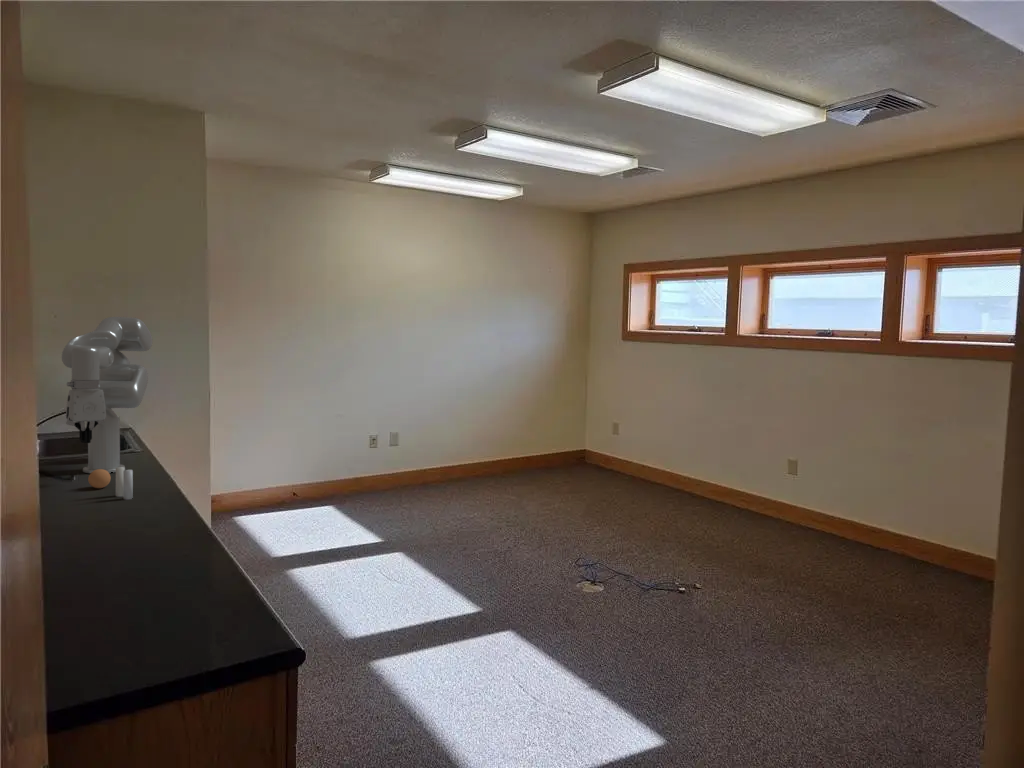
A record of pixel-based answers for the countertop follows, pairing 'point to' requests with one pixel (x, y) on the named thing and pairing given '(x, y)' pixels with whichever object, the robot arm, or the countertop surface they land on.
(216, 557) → the countertop surface
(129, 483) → the pin
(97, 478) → the ball
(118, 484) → the pin
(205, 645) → the countertop surface
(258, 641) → the countertop surface
